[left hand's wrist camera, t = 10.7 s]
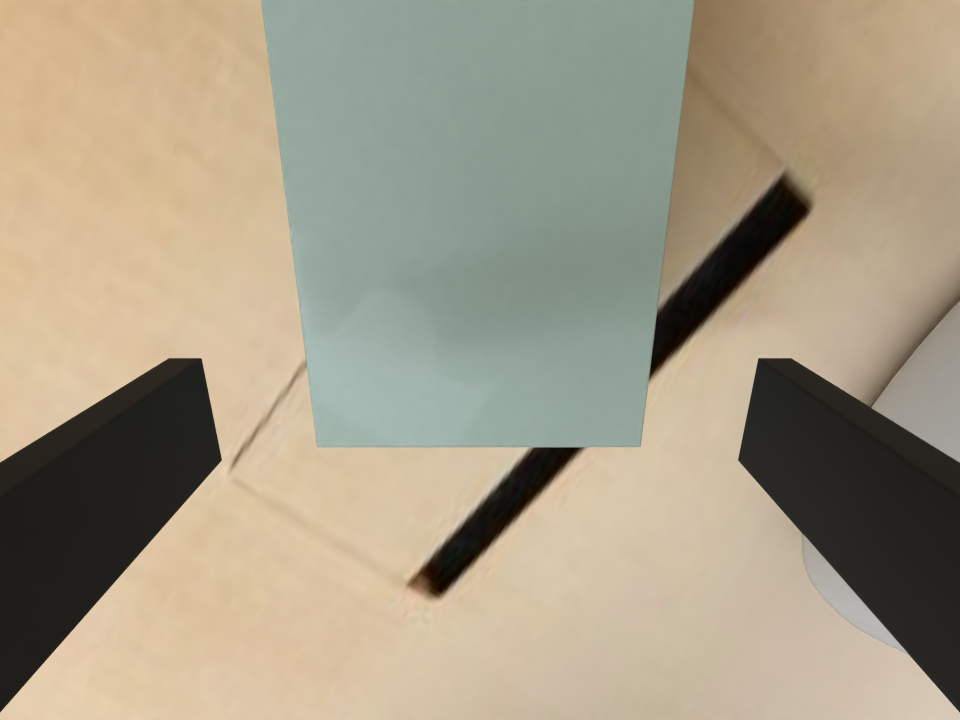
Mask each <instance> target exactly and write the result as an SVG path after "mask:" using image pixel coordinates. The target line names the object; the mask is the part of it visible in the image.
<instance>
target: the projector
mask: <svg viewBox="0 0 960 720" xmlns="http://www.w3.org/2000/svg"><path fill="white" fill-rule="evenodd" d="M871 408H872V409H874V410H875V411H877V412H879V413H880V414H882V415H884V416H885V417H887V418H888V419H890V420H892V421H893V422H895V423H896V424H898V425H900V426H901V427H903V428H905V429H906V430H908V431H909V432H911V433H913V434H914V435H916V436H918V437H919V438H921V439H922V440H924V441H926V442H927V443H929V444H931V445H932V446H934V447H935V448H937V449H939V450H940V451H942V452H943V453H945V454H947V455H948V456H950V457H952V458H953V459H955V460H956V461H958V462H960V301H959V302H958V303H957V304H956V305H955V306H954V307H953V308H952V309H951V310H950V311H949V312H948V313H947V314H946V316H945V317H944V318H943V319H942V320H941V321H940V322H939V323H938V325H937V326H936V327H935V328H934V329H933V330H932V332H931V333H930V334H929V335H928V336H927V337H926V338H925V340H924V341H923V342H922V343H921V344H920V345H919V346H918V348H917V349H916V350H915V351H914V353H913V354H912V355H911V356H910V357H909V359H908V360H907V361H906V362H905V364H904V365H903V366H902V367H901V369H900V370H899V371H898V372H897V374H896V375H895V376H894V377H893V379H892V380H891V381H890V383H889V384H888V386H887V387H886V388H885V390H884V391H883V392H882V394H881V395H880V396H879V398H878V399H877V400H876V402H875V403H874V404H873V406H872V407H871ZM802 554H803V561H804V565H805V568H806V571H807V574H808V576H809V578H810V580H811V582H812V584H813V585H814V587H815V588H816V590H817V591H818V592H819V593H820V595H821V596H822V597H823V598H824V600H825V601H826V602H827V603H828V604H829V605H830V606H831V607H833V608H834V609H835V610H836V611H837V612H838V613H839V614H840V615H841V616H842V617H843V618H845V619H846V620H847V621H848V622H850V623H851V624H852V625H854V626H855V627H857V628H858V629H860V630H861V631H863V632H865V633H866V634H868V635H870V636H872V637H873V638H875V639H877V640H879V641H881V642H883V643H885V644H887V645H890V646H892V647H894V648H896V649H898V650H900V651H902V652H905V653H907V652H906V651H905V649H904V648H903V647H902V646H901V645H900V644H899V643H898V641H897V640H896V639H895V638H894V637H893V636H892V635H891V633H890V632H889V631H888V630H887V629H886V628H885V627H884V625H883V624H882V623H881V622H880V621H879V620H878V619H877V618H876V616H875V615H874V614H873V613H872V612H871V611H870V610H869V608H868V607H867V606H866V605H865V604H864V603H863V602H862V600H861V599H860V598H859V597H858V596H857V595H856V594H855V592H854V591H853V590H852V589H851V588H850V587H849V586H848V585H847V583H846V582H845V581H844V580H843V579H842V578H841V577H840V575H839V574H838V573H837V572H836V571H835V570H834V569H833V567H832V566H831V565H830V564H829V563H828V562H827V561H826V560H825V558H824V557H823V556H822V555H821V554H820V553H819V552H818V550H817V549H816V548H815V547H814V546H813V545H812V544H811V542H810V541H809V540H808V539H807V538H806V537H805V536H804V534H803V539H802ZM907 654H908V653H907Z"/></svg>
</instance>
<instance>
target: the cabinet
mask: <svg viewBox="0 0 960 720" xmlns="http://www.w3.org/2000/svg"><path fill="white" fill-rule="evenodd" d="M261 2H262V10H263V18H264V26H265V34H266V42H267V50H268V58H269V66H270V74H271V82H272V90H273V98H274V106H275V114H276V122H277V130H278V138H279V146H280V154H281V162H282V170H283V178H284V186H285V194H286V202H287V210H288V218H289V226H290V234H291V242H292V250H293V258H294V266H295V274H296V282H297V290H298V298H299V306H300V314H301V322H302V330H303V338H304V346H305V354H306V362H307V370H308V378H309V386H310V394H311V402H312V410H313V418H314V426H315V434H316V442H317V447H640V446H641V438H642V430H643V422H644V414H645V406H646V397H647V389H648V381H649V373H650V365H651V356H652V348H653V340H654V332H655V324H656V316H657V307H658V299H659V291H660V283H661V275H662V266H663V258H664V250H665V242H666V234H667V225H668V217H669V209H670V201H671V193H672V184H673V176H674V168H675V160H676V152H677V143H678V135H679V127H680V119H681V111H682V102H683V94H684V86H685V78H686V70H687V61H688V53H689V45H690V37H691V29H692V20H693V12H694V4H695V0H261Z"/></svg>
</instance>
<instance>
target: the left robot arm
mask: <svg viewBox="0 0 960 720" xmlns="http://www.w3.org/2000/svg"><path fill="white" fill-rule="evenodd" d="M221 461H222V459H221V454H220V449H219V444H218V439H217V434H216V429H215V424H214V419H213V414H212V409H211V404H210V399H209V394H208V389H207V384H206V379H205V374H204V369H203V364H202V359H201V358H169V359H167V360H166V361H164V362H162V363H161V364H159V365H157V366H156V367H154V368H153V369H151V370H149V371H148V372H146V373H145V374H143V375H141V376H140V377H138V378H136V379H135V380H133V381H132V382H130V383H128V384H127V385H125V386H123V387H122V388H120V389H119V390H117V391H115V392H114V393H112V394H111V395H109V396H107V397H106V398H104V399H102V400H101V401H99V402H98V403H96V404H94V405H93V406H91V407H89V408H88V409H86V410H85V411H83V412H81V413H80V414H78V415H76V416H75V417H73V418H72V419H70V420H68V421H67V422H65V423H64V424H62V425H60V426H59V427H57V428H55V429H54V430H52V431H51V432H49V433H47V434H46V435H44V436H42V437H41V438H39V439H38V440H36V441H34V442H33V443H31V444H29V445H28V446H26V447H25V448H23V449H21V450H20V451H18V452H17V453H15V454H13V455H12V456H10V457H8V458H7V459H5V460H4V461H2V462H0V712H1V711H2V710H3V709H4V707H5V706H6V705H7V704H8V703H9V702H10V701H11V699H12V698H13V697H14V696H15V695H16V694H17V693H18V691H19V690H20V689H21V688H22V687H23V686H24V685H25V684H26V682H27V681H28V680H29V679H30V678H31V677H32V676H33V674H34V673H35V672H36V671H37V670H38V669H39V668H40V666H41V665H42V664H43V663H44V662H45V661H46V660H47V658H48V657H49V656H50V655H51V654H52V653H53V652H54V651H55V649H56V648H57V647H58V646H59V645H60V644H61V643H62V641H63V640H64V639H65V638H66V637H67V636H68V635H69V633H70V632H71V631H72V630H73V629H74V628H75V627H76V625H77V624H78V623H79V622H80V621H81V620H82V619H83V618H84V616H85V615H86V614H87V613H88V612H89V611H90V610H91V608H92V607H93V606H94V605H95V604H96V603H97V602H98V600H99V599H100V598H101V597H102V596H103V595H104V594H105V592H106V591H107V590H108V589H109V588H110V587H111V586H112V585H113V583H114V582H115V581H116V580H117V579H118V578H119V577H120V575H121V574H122V573H123V572H124V571H125V570H126V569H127V567H128V566H129V565H130V564H131V563H132V562H133V561H134V560H135V558H136V557H137V556H138V555H139V554H140V553H141V552H142V550H143V549H144V548H145V547H146V546H147V545H148V544H149V542H150V541H151V540H152V539H153V538H154V537H155V536H156V534H157V533H158V532H159V531H160V530H161V529H162V528H163V527H164V525H165V524H166V523H167V522H168V521H169V520H170V519H171V517H172V516H173V515H174V514H175V513H176V512H177V511H178V509H179V508H180V507H181V506H182V505H183V504H184V503H185V501H186V500H187V499H188V498H189V497H190V496H191V495H192V494H193V492H194V491H195V490H196V489H197V488H198V487H199V486H200V484H201V483H202V482H203V481H204V480H205V479H206V478H207V476H208V475H209V474H210V473H211V472H212V471H213V470H214V468H215V467H216V466H217V465H218V464H219V463H220V462H221ZM738 461H739V462H740V463H741V464H742V465H743V466H744V467H745V468H746V470H747V471H748V472H749V473H750V474H751V475H752V476H753V478H754V479H755V480H756V481H757V482H758V483H759V484H760V486H761V487H762V488H763V489H764V490H765V491H766V492H767V494H768V495H769V496H770V497H771V498H772V499H773V500H774V501H775V503H776V504H777V505H778V506H779V507H780V508H781V509H782V511H783V512H784V513H785V514H786V515H787V516H788V517H789V519H790V520H791V521H792V522H793V523H794V524H795V525H796V527H797V528H798V529H799V530H800V531H801V532H802V533H803V534H804V536H805V537H806V538H807V539H808V540H809V541H810V542H811V544H812V545H813V546H814V547H815V548H816V549H817V550H818V552H819V553H820V554H821V555H822V556H823V557H824V558H825V560H826V561H827V562H828V563H829V564H830V565H831V566H832V567H833V569H834V570H835V571H836V572H837V573H838V574H839V575H840V577H841V578H842V579H843V580H844V581H845V582H846V583H847V585H848V586H849V587H850V588H851V589H852V590H853V591H854V592H855V594H856V595H857V596H858V597H859V598H860V599H861V600H862V602H863V603H864V604H865V605H866V606H867V607H868V608H869V610H870V611H871V612H872V613H873V614H874V615H875V616H876V618H877V619H878V620H879V621H880V622H881V623H882V624H883V625H884V627H885V628H886V629H887V630H888V631H889V632H890V633H891V635H892V636H893V637H894V638H895V639H896V640H897V641H898V643H899V644H900V645H901V646H902V647H903V648H904V649H905V651H906V652H907V653H908V654H909V655H910V656H911V657H912V658H913V660H914V661H915V662H916V663H917V664H918V665H919V666H920V668H921V669H922V670H923V671H924V672H925V673H926V674H927V676H928V677H929V678H930V679H931V680H932V681H933V682H934V684H935V685H936V686H937V687H938V688H939V689H940V690H941V691H942V693H943V694H944V695H945V696H946V697H947V698H948V699H949V701H950V702H951V703H952V704H953V705H954V706H955V707H956V709H957V710H958V711H959V712H960V462H958V461H956V460H955V459H953V458H952V457H950V456H948V455H947V454H945V453H943V452H942V451H940V450H939V449H937V448H935V447H934V446H932V445H931V444H929V443H927V442H926V441H924V440H922V439H921V438H919V437H918V436H916V435H914V434H913V433H911V432H909V431H908V430H906V429H905V428H903V427H901V426H900V425H898V424H896V423H895V422H893V421H892V420H890V419H888V418H887V417H885V416H884V415H882V414H880V413H879V412H877V411H875V410H874V409H872V408H871V407H869V406H867V405H866V404H864V403H862V402H861V401H859V400H858V399H856V398H854V397H853V396H851V395H849V394H848V393H846V392H845V391H843V390H841V389H840V388H838V387H837V386H835V385H833V384H832V383H830V382H828V381H827V380H825V379H824V378H822V377H820V376H819V375H817V374H815V373H814V372H812V371H811V370H809V369H807V368H806V367H804V366H803V365H801V364H799V363H798V362H796V361H794V360H793V359H791V358H759V359H758V364H757V369H756V374H755V379H754V384H753V389H752V394H751V399H750V404H749V409H748V414H747V419H746V424H745V429H744V434H743V439H742V444H741V449H740V454H739V458H738Z"/></svg>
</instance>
